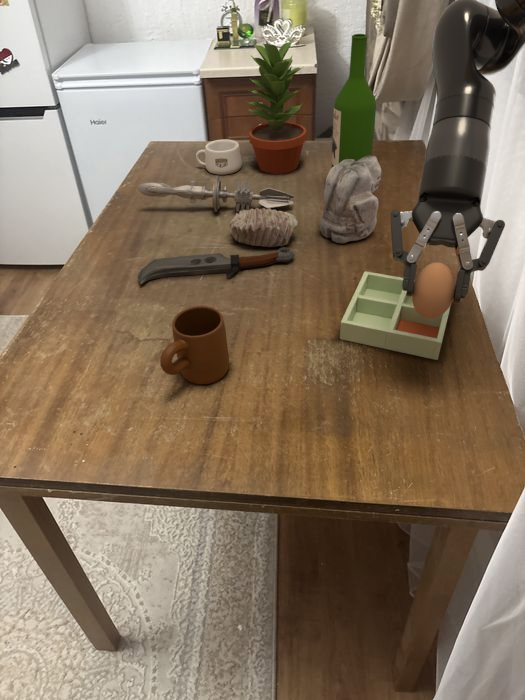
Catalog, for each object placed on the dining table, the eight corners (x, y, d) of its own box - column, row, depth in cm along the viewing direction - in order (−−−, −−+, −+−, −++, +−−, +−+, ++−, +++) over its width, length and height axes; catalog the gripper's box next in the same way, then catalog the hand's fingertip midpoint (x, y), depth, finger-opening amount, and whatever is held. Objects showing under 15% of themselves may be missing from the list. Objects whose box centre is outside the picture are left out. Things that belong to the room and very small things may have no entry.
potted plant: (307, 154, 146) (308, 27, 126) (304, 177, 134) (305, 42, 115) (253, 154, 147) (246, 29, 128) (245, 177, 136) (236, 43, 116)
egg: (448, 306, 72) (460, 254, 67) (449, 330, 68) (461, 277, 63) (409, 301, 73) (417, 251, 68) (407, 325, 69) (416, 273, 64)
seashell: (301, 214, 113) (291, 186, 104) (302, 254, 111) (291, 229, 101) (236, 223, 117) (220, 197, 108) (235, 261, 115) (218, 239, 105)
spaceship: (141, 169, 123) (133, 169, 115) (294, 180, 123) (296, 181, 115) (141, 205, 125) (133, 207, 118) (291, 216, 125) (292, 219, 118)
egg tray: (451, 303, 92) (455, 286, 90) (437, 360, 82) (441, 342, 79) (363, 287, 97) (364, 271, 95) (339, 339, 87) (340, 322, 84)
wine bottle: (325, 186, 130) (330, 33, 109) (360, 181, 131) (372, 28, 110) (337, 202, 123) (345, 42, 102) (374, 196, 124) (389, 37, 103)
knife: (297, 267, 99) (134, 279, 99) (297, 277, 101) (137, 289, 100) (292, 243, 106) (139, 254, 105) (292, 253, 107) (142, 264, 107)
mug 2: (243, 160, 144) (242, 137, 140) (241, 175, 137) (239, 151, 133) (199, 161, 145) (196, 139, 141) (194, 176, 138) (191, 153, 134)
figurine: (385, 233, 112) (394, 162, 102) (344, 250, 107) (349, 178, 97) (352, 215, 118) (357, 147, 108) (312, 231, 113) (313, 161, 104)
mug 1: (191, 412, 76) (181, 363, 70) (150, 393, 79) (138, 344, 73) (239, 362, 83) (234, 314, 77) (200, 347, 87) (193, 299, 80)
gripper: (396, 148, 65) (373, 285, 65) (523, 156, 62) (500, 301, 61) (396, 172, 73) (375, 295, 72) (509, 181, 69) (488, 311, 69)
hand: (432, 297), depth 67 cm, fingers closed on egg, 5 cm apart
